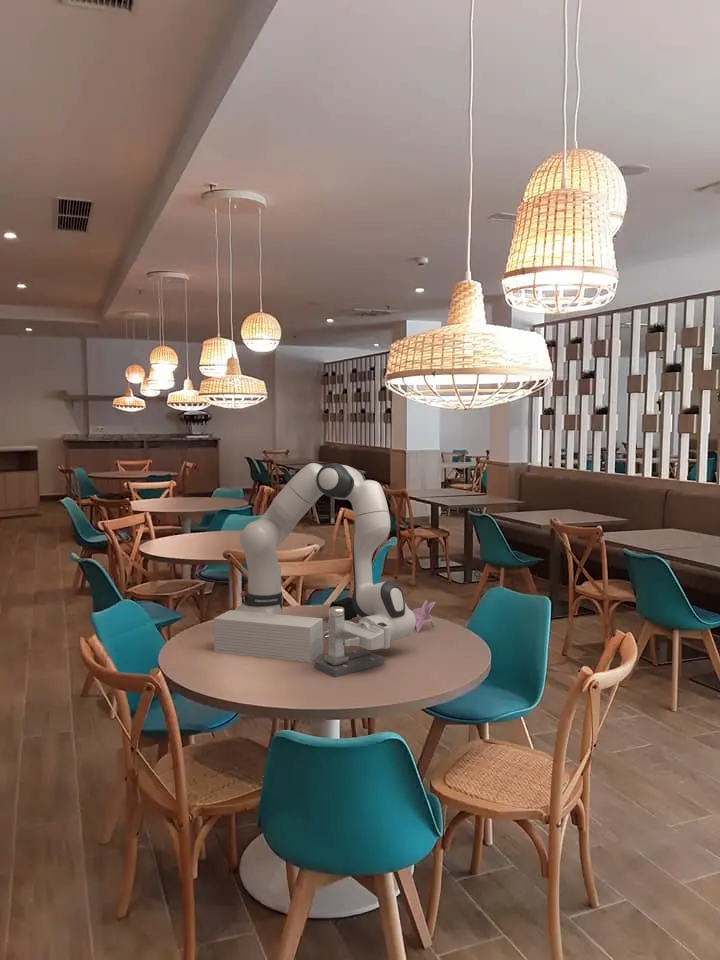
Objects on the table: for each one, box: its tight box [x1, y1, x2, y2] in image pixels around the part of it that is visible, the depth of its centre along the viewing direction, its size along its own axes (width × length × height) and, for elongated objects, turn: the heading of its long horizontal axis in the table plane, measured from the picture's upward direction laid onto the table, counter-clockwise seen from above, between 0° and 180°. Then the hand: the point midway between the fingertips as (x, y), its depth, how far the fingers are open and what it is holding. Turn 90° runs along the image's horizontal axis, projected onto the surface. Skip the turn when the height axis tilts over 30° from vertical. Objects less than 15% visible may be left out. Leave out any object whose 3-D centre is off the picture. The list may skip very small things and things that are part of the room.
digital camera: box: [329, 596, 358, 621], centre depth 268 cm, size 10×5×7 cm, turn 149°
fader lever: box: [323, 606, 349, 666], centre depth 213 cm, size 5×5×16 cm
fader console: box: [314, 648, 385, 678], centre depth 217 cm, size 18×10×2 cm, turn 129°
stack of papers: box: [213, 609, 324, 663], centre depth 230 cm, size 32×11×11 cm, turn 72°
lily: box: [411, 599, 436, 633], centre depth 256 cm, size 12×12×10 cm
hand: (333, 639), depth 212 cm, fingers open, 8 cm apart
